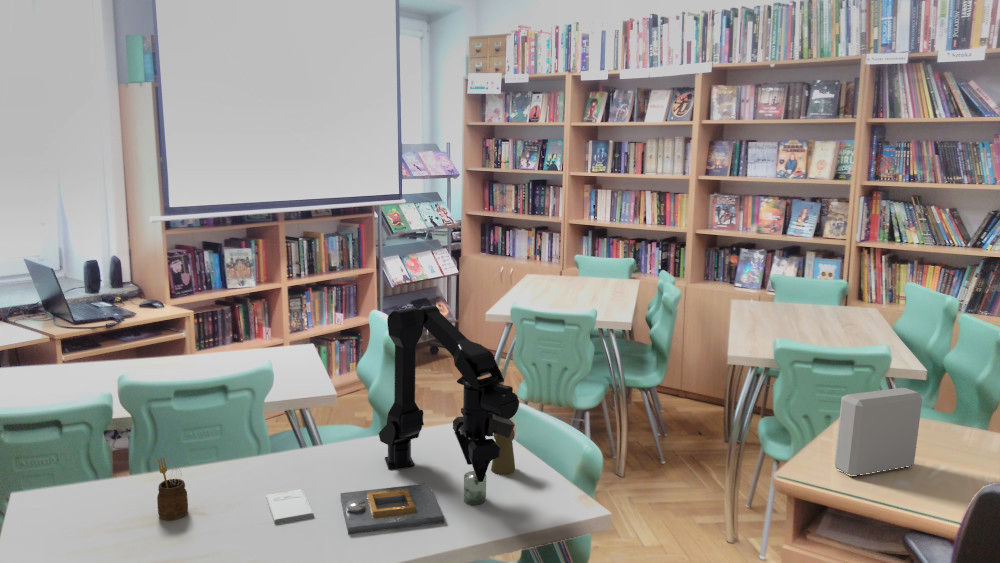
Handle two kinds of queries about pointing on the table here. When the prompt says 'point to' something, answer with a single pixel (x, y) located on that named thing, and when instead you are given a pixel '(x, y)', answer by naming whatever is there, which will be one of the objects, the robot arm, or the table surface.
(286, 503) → the external hard drive
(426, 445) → the table surface
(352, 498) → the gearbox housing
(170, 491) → the utensil holder
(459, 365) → the robot arm
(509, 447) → the cork
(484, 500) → the can
